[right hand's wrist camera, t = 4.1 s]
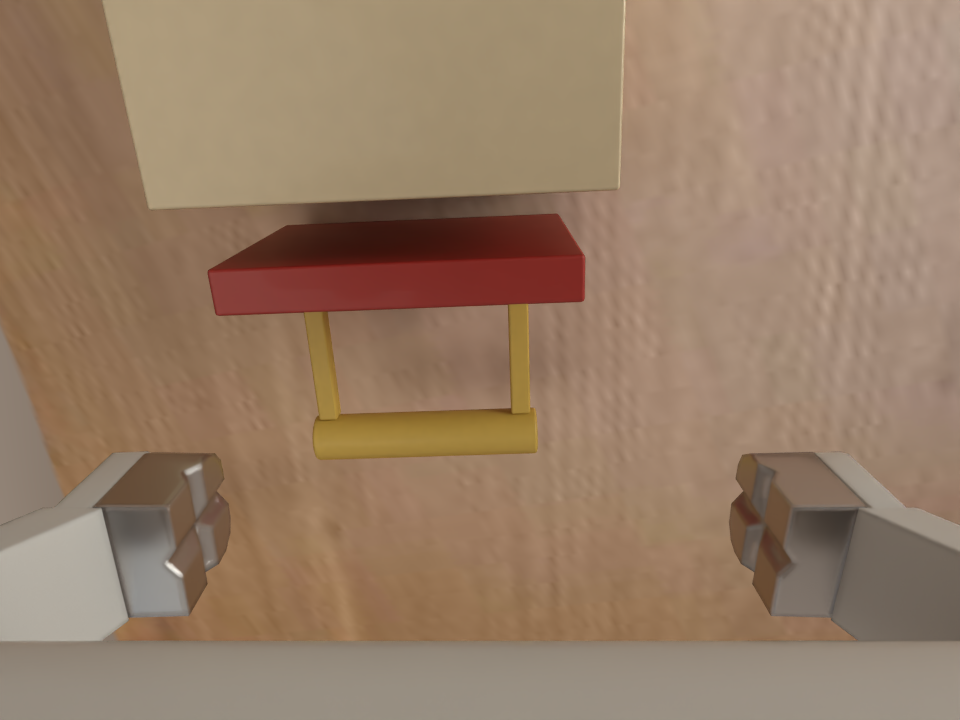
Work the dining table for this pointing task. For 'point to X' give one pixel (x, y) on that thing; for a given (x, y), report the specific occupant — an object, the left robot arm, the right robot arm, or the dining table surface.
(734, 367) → the dining table surface
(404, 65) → the cabinet
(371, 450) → the drawer
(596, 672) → the right robot arm
